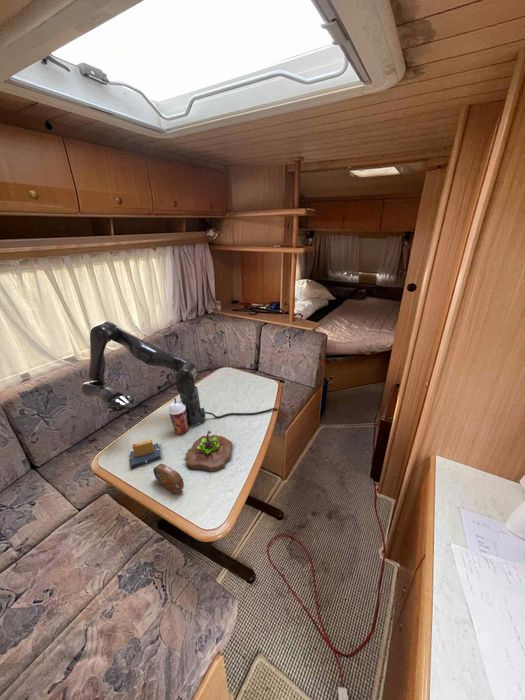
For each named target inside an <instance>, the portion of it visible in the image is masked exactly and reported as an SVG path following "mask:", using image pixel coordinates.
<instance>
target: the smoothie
mask: <svg viewBox="0 0 525 700" xmlns="http://www.w3.org/2000/svg"><path fill="white" fill-rule="evenodd" d="M173 400H174V401H173V402H171V404H170V405H169V406H168V410H167V411H168V415H169V418H170V422H171V424H172V427H173V430H174V432H175V433H176V434H177V435H183V434H185V433H186V432H187V431H188V429H189V427H188V422H187V414H186V406H185V405H184V404H183V403H182V402H181V400H180V401H179V400H177V399H176V397H174V398H173Z"/></svg>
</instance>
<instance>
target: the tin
mask: <svg viewBox="0 0 525 700" xmlns="http://www.w3.org/2000/svg"><path fill="white" fill-rule="evenodd" d="M153 474H154V477H155V479H156V481H157V482H158V483H159V484H161V485H162V486H164V487H165V488H167V489H168V490H169V491H171V492H173V493H175V494H178V493H180V491H182V489H183V488H184V487H185V484H184V483H185V482H184V479H183V476H182V475H181V474H180V473H179V472H178V471H176V470H175V469H173V468H171V467H169V466H168V465H166V464H164V463H159V464H158V465H157V466H155V467H154V468H153Z"/></svg>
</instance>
